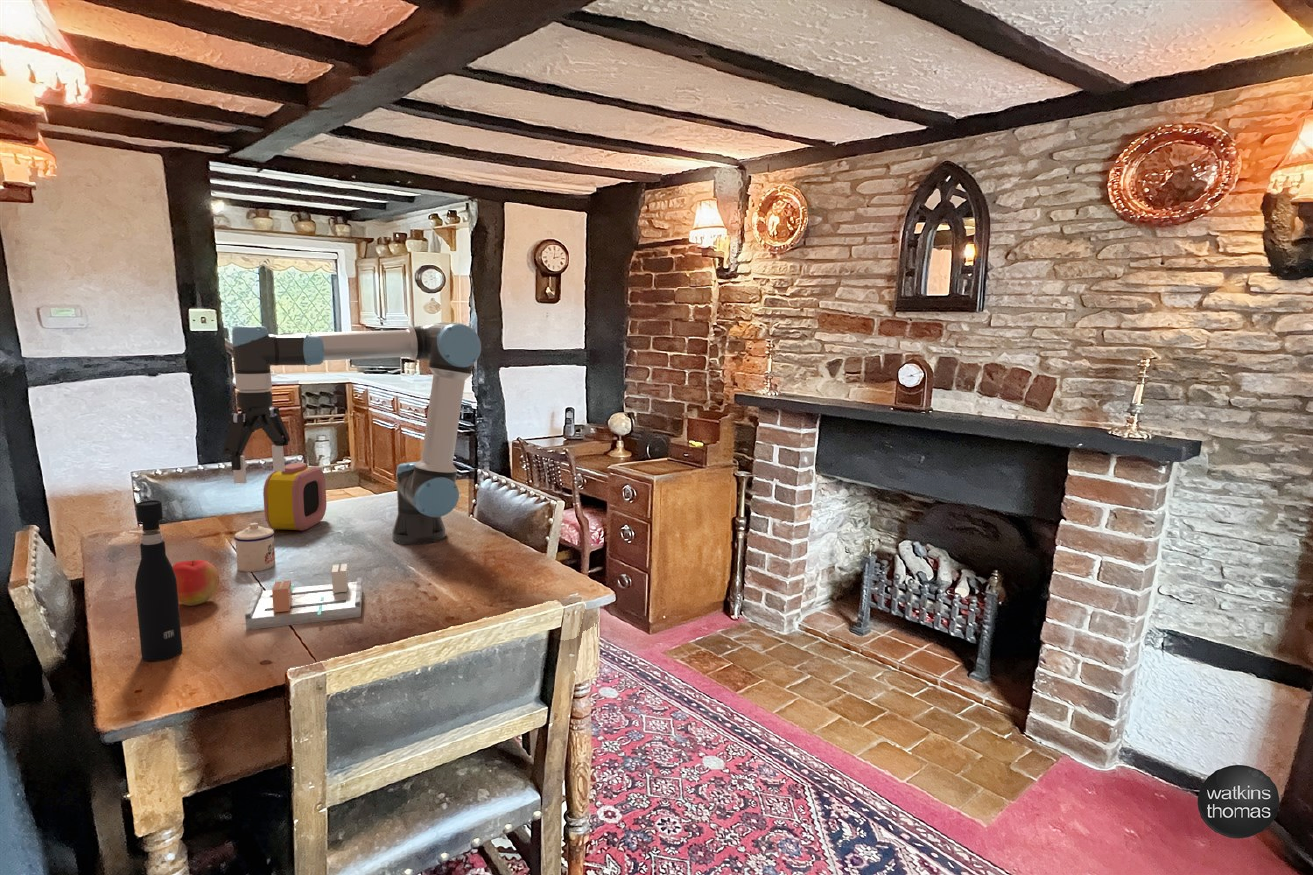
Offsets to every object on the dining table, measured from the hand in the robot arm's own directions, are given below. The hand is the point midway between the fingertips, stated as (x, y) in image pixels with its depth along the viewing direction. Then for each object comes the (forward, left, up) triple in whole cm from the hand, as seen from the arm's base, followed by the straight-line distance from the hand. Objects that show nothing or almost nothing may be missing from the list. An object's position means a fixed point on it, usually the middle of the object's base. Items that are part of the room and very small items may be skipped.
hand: (260, 476), depth 172 cm
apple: (+12, +14, -26) cm, 32 cm away
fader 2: (-18, +21, -23) cm, 36 cm away
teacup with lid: (+3, -10, -26) cm, 28 cm away
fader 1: (-7, +29, -23) cm, 38 cm away
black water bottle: (+12, +40, -26) cm, 49 cm away
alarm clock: (-3, -45, -26) cm, 52 cm away
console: (-12, +25, -26) cm, 38 cm away
